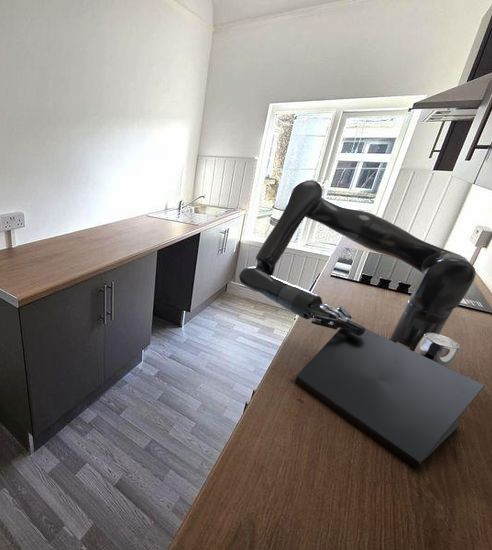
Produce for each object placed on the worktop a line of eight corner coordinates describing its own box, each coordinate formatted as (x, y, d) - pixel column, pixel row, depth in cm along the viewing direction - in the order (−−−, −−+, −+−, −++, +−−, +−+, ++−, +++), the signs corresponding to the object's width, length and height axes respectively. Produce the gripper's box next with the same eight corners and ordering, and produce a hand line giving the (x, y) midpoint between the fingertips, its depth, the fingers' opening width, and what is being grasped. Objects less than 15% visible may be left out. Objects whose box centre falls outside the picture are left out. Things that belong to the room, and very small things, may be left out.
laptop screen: (348, 322, 81) (347, 320, 80) (484, 386, 60) (485, 385, 59) (296, 377, 79) (296, 375, 78) (419, 464, 58) (420, 462, 57)
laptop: (338, 361, 89) (341, 355, 88) (456, 430, 68) (460, 424, 67) (294, 382, 79) (296, 376, 79) (415, 469, 58) (420, 463, 58)
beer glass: (425, 398, 76) (454, 351, 70) (394, 380, 82) (418, 335, 76) (437, 389, 80) (465, 344, 74) (405, 373, 85) (429, 329, 79)
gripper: (287, 293, 83) (354, 325, 69) (315, 286, 89) (382, 314, 75) (280, 316, 86) (342, 351, 72) (308, 307, 92) (370, 338, 78)
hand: (362, 332), depth 73 cm, fingers closed
